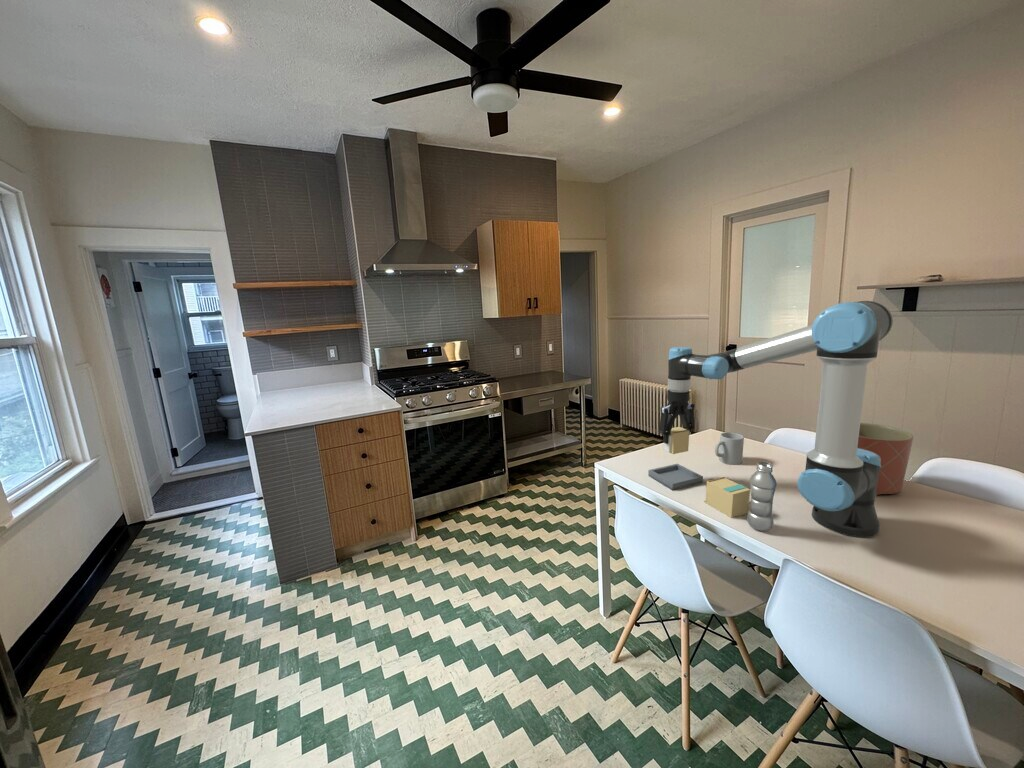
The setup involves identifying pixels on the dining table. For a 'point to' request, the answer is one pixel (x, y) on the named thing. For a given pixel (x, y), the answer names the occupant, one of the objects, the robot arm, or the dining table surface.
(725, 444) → the mug
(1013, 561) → the dining table surface
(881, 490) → the planter
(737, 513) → the tan teal-banded block
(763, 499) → the plastic bottle
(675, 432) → the plain tan block
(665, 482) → the tray
